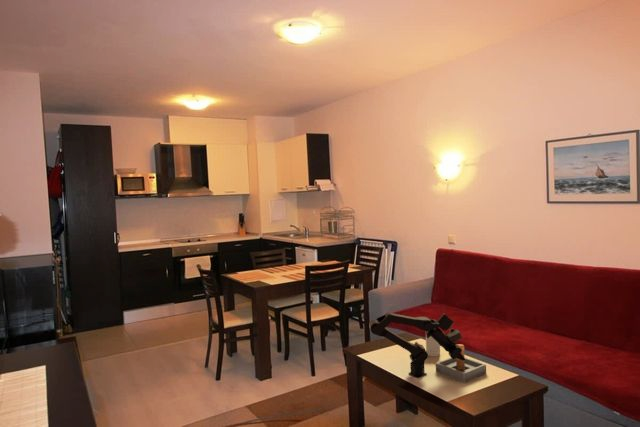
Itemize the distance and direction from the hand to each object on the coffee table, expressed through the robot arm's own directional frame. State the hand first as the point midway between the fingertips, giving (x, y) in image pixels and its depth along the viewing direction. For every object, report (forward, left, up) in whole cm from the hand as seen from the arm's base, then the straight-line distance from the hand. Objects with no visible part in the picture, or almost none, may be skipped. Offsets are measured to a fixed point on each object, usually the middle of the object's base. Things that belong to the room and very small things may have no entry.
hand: (463, 358), depth 216 cm
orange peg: (-1, +1, -7) cm, 7 cm away
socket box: (-1, +1, -7) cm, 7 cm away
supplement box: (+8, +27, -8) cm, 29 cm away
